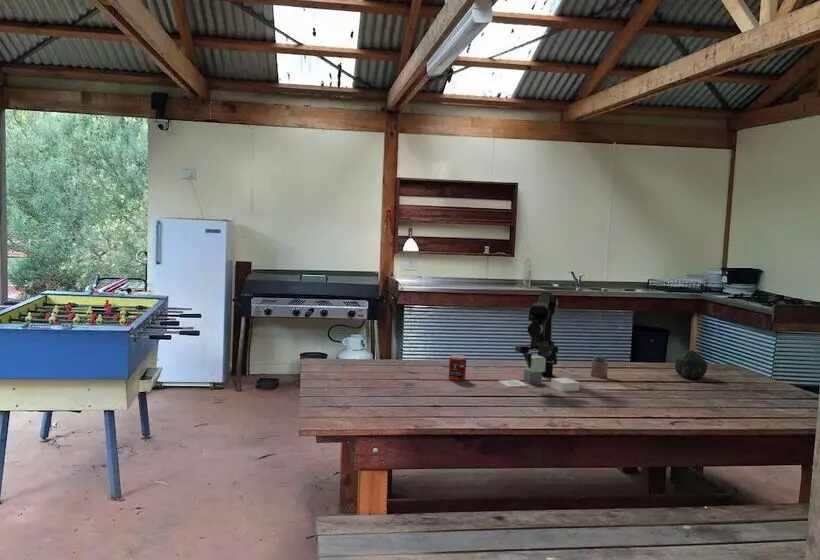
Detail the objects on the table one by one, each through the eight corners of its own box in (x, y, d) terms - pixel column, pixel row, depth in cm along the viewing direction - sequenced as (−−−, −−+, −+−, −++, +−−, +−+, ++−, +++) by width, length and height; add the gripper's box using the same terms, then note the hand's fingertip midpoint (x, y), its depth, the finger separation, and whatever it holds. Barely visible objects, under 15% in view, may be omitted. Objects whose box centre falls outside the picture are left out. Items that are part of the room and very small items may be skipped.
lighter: (589, 376, 318) (591, 356, 317) (591, 375, 321) (592, 355, 320) (606, 378, 314) (607, 358, 313) (607, 377, 317) (609, 357, 316)
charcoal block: (523, 381, 302) (524, 368, 301) (535, 380, 304) (535, 368, 303) (529, 384, 296) (530, 371, 296) (541, 384, 298) (542, 371, 297)
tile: (498, 381, 298) (498, 380, 298) (517, 381, 301) (518, 379, 301) (508, 387, 288) (508, 385, 288) (528, 386, 291) (528, 385, 291)
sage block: (526, 368, 287) (527, 355, 286) (538, 368, 289) (539, 355, 288) (532, 372, 281) (533, 358, 281) (545, 371, 283) (545, 358, 282)
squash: (695, 363, 336) (682, 342, 331) (717, 370, 321) (704, 349, 317) (677, 381, 333) (663, 360, 329) (698, 389, 319) (684, 368, 315)
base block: (550, 387, 294) (551, 378, 294) (567, 386, 297) (567, 377, 297) (562, 392, 286) (562, 383, 285) (578, 391, 289) (579, 382, 289)
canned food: (446, 380, 297) (447, 356, 296) (451, 376, 304) (452, 353, 303) (462, 382, 294) (463, 358, 293) (467, 378, 301) (468, 355, 300)
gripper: (527, 336, 273) (525, 372, 274) (566, 336, 279) (563, 371, 280) (515, 332, 284) (513, 366, 285) (553, 331, 289) (550, 365, 290)
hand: (535, 367), depth 285 cm, fingers closed on sage block, 6 cm apart
